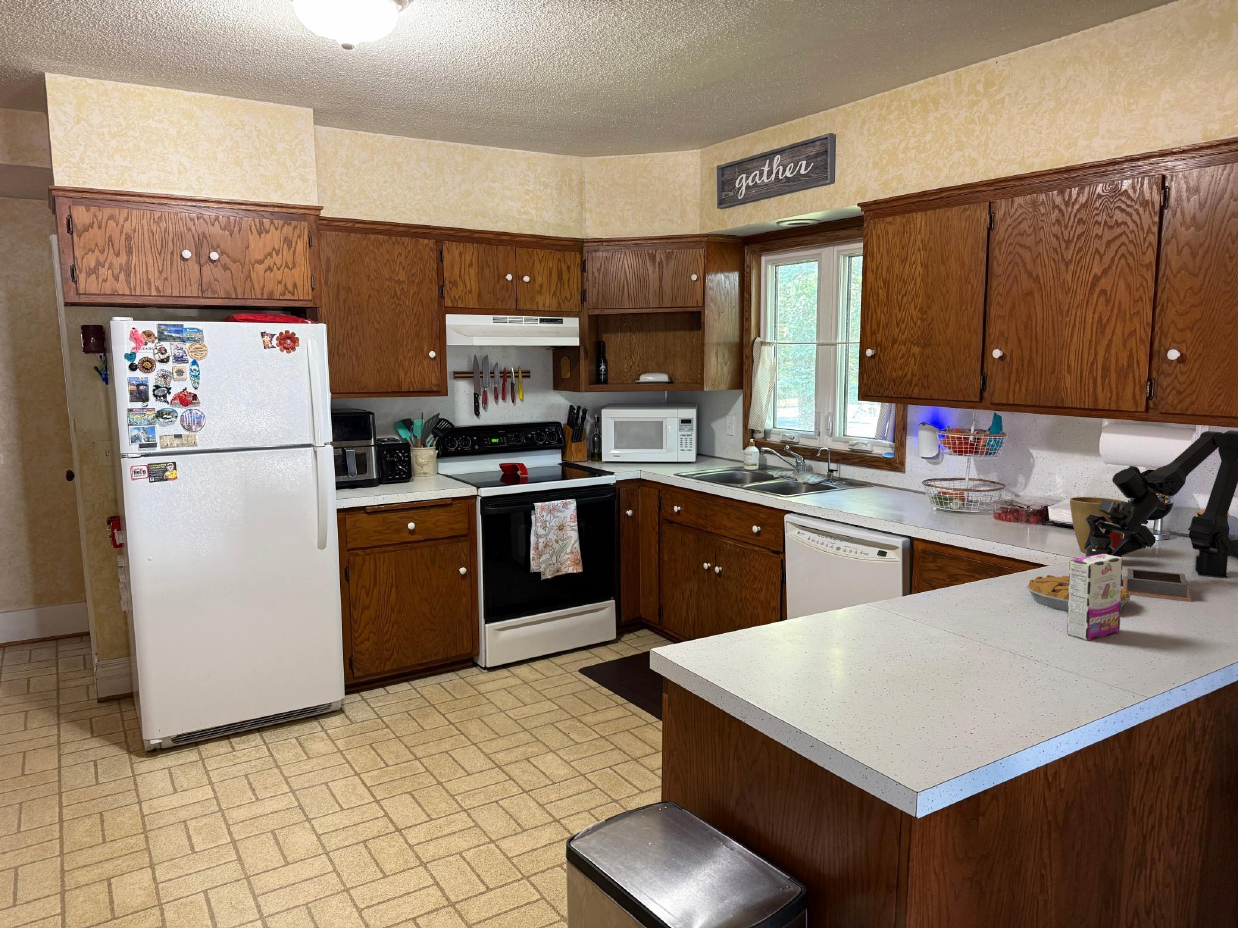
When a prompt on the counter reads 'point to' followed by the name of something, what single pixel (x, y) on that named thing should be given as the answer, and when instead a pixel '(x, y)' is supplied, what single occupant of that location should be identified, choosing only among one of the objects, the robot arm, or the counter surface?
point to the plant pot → (1085, 516)
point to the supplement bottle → (1099, 545)
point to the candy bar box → (1094, 596)
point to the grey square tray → (1157, 584)
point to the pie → (1058, 592)
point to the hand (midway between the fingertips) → (1098, 553)
